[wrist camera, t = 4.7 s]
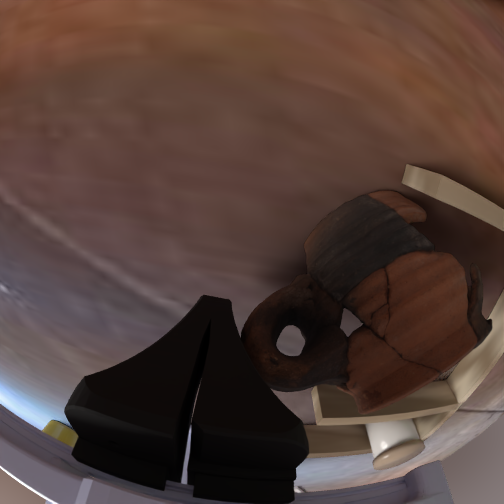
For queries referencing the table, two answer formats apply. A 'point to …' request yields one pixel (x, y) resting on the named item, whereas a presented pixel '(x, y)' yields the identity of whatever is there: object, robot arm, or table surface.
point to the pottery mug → (370, 307)
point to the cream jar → (393, 442)
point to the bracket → (433, 394)
